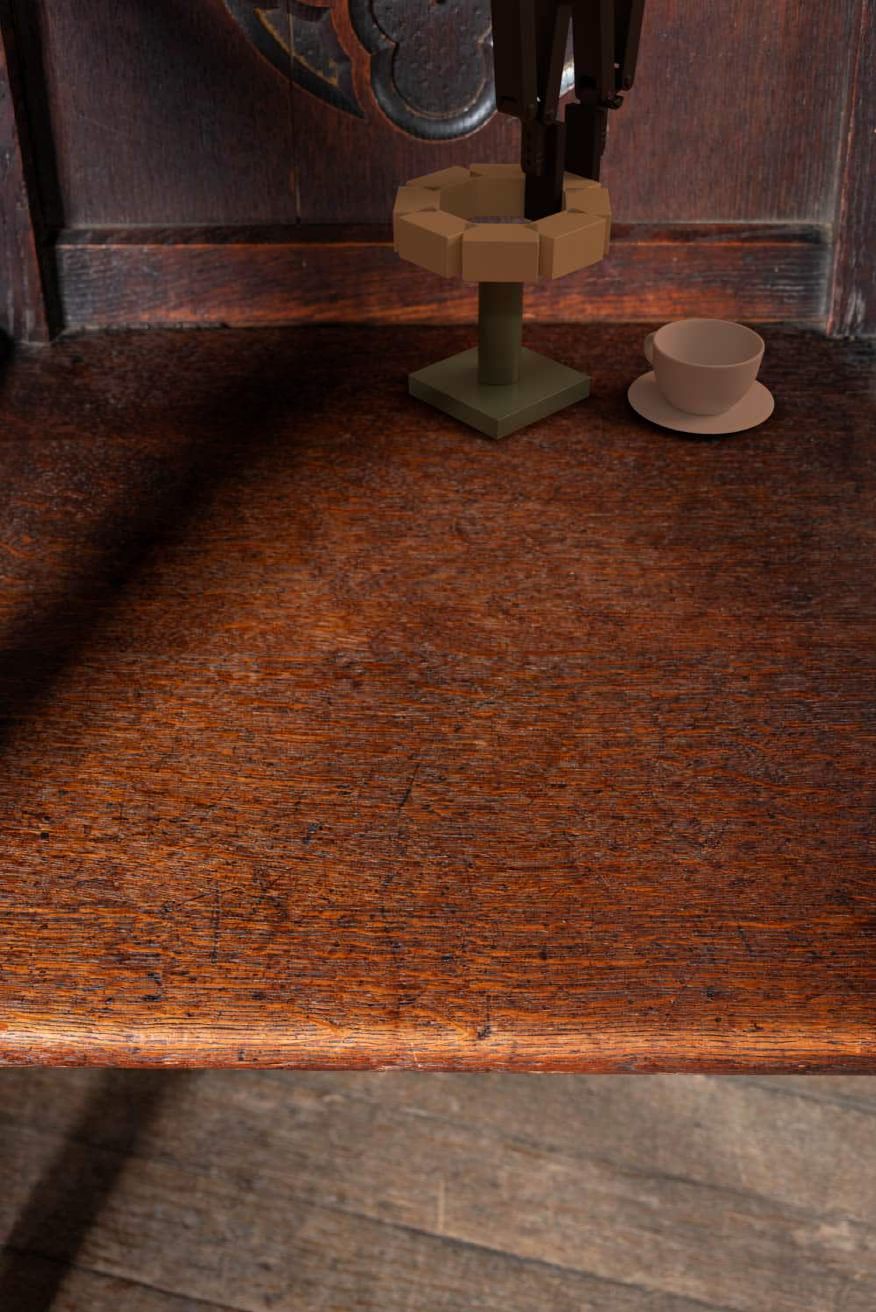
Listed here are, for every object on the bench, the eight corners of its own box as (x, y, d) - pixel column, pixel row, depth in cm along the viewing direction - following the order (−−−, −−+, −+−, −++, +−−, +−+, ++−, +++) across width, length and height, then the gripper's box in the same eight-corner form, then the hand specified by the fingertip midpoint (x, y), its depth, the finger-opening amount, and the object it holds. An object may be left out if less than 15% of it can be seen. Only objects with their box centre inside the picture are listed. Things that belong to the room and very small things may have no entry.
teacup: (801, 403, 87) (813, 340, 84) (715, 456, 82) (725, 391, 79) (684, 358, 93) (692, 297, 90) (597, 404, 87) (602, 342, 84)
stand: (408, 393, 89) (404, 233, 82) (500, 354, 94) (503, 199, 86) (497, 440, 84) (500, 273, 76) (589, 396, 88) (600, 235, 81)
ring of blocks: (354, 238, 82) (351, 198, 80) (503, 187, 89) (504, 150, 87) (498, 302, 74) (499, 259, 73) (650, 241, 81) (654, 201, 80)
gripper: (528, -192, 63) (515, 263, 78) (726, -216, 71) (680, 200, 86) (428, -202, 67) (435, 230, 82) (626, -224, 75) (599, 173, 90)
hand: (560, 214), depth 84 cm, fingers closed on ring of blocks, 3 cm apart
